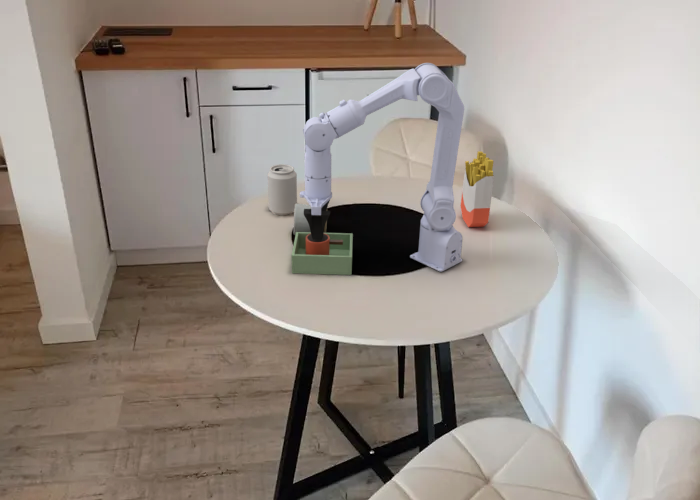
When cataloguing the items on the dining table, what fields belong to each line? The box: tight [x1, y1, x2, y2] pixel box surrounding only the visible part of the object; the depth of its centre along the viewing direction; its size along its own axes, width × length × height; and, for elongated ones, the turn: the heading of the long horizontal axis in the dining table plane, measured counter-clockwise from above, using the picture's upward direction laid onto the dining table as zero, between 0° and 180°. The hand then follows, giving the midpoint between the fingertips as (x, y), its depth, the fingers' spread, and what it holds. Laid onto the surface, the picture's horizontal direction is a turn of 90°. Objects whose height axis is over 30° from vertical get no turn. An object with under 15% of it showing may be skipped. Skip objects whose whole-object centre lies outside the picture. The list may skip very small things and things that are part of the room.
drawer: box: [291, 232, 354, 276], centre depth 154 cm, size 13×12×4 cm
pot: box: [306, 233, 343, 255], centre depth 154 cm, size 8×5×6 cm, turn 89°
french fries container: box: [460, 150, 495, 228], centre depth 172 cm, size 5×11×18 cm, turn 7°
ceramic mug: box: [293, 203, 328, 236], centre depth 167 cm, size 11×8×8 cm
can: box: [267, 163, 298, 216], centre depth 177 cm, size 8×8×12 cm
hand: (318, 231), depth 152 cm, fingers open, 7 cm apart
